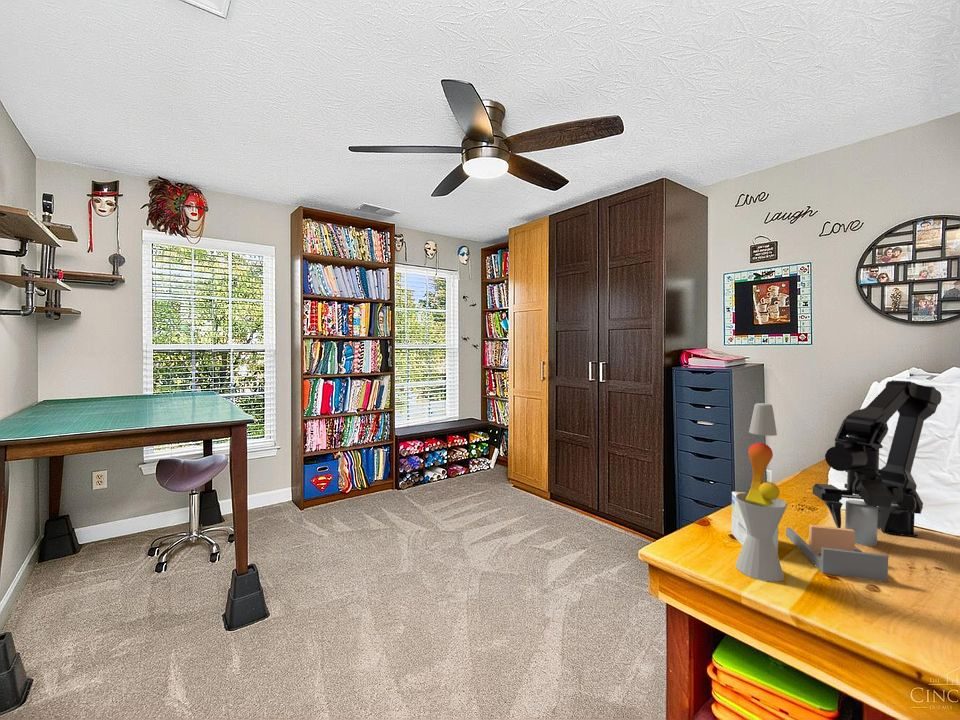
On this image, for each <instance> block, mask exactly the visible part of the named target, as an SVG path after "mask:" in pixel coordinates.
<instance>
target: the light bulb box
mask: <svg viewBox="0 0 960 720" xmlns="http://www.w3.org/2000/svg"><path fill="white" fill-rule="evenodd" d="M740 493H742V492H741V491H740V492H739V491H731V524H730V525H731V529H730V530H731V531H730V533H731V535H732V536H733V537H734V538H735V539H736V540H737V542H739V544H740V545H741V546H742V547H743V544H744V542H745V539H746V537H747V535H748V531H747V528H746V525H745V522H744V519H743V516H742V513H741V510H740V507H739V504H738V501H737V498H736V495H737V494H740ZM772 539H773V542H774V545H775V548H776V552H777V555H778V554H779V526H778V527H777V529H776V531H775V533H774V535H773V537H772Z"/></svg>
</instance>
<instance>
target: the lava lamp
mask: <svg viewBox="0 0 960 720" xmlns="http://www.w3.org/2000/svg"><path fill="white" fill-rule="evenodd" d="M773 408H774V407H773V404H770V403H762V402H760V403H759V402H758V403H755V404H754V405H753V411H752V417H751V422H750V425H749V426H750V427H749V430H748V433H750V434H752V435H757V436H769V437H771V436H775V437H776V436H778V433H777V432H778V431H777V426H776V421H775V413H774V409H773ZM747 451H748V454H747V455H748V457H749V460H750V463H751V468H752V481H751V486H750V489H749V491H748V492H741V493H740V494H737V495H736V498H737V501H738V504H739V507H740V510H741V513H742V516H743V519H744V522H745V525H746V528H747V531H748V535H747V537H746V539H745V542H744V544H743V546H742V547H741V550H740V552H739V555H738V557H737V559H736V563H735V565H736V567H735V569H736V568H737V569H738V570H739V571H738V570H737V569H736V570H737V571H738V572H740V573H741V572H742V573H741V574H743V575H744V574H745V576H747V577H749V578H752V579H755V580H758V579H759V580H758V581H764V582H769V583H770V582H771V583H775V582H781V581H783V580H784V579H785V575H784V571H783V569H782V565H781V562H780V558H779V555H778V554H777V552H776V548H775V545H774V542H773V539H772V537H773V535H774V533H775V531H776V529H777V527H778V528H779V525H780V522H781V520H782V517H783V515H784V514H785V511H786V509H787V507H788V503H787V502H786V501H785V500H783V499H781V498H779V496H780V493H781V492H780V488H779V487H778V486H777V484H776V483H773V482H771V481H764V476H765V472H766V469H767V468H768V465H769V464H770V463H771V460H773V456H774V454H773V449H772V448H771V447H770V446H769V445H768V444H766V443H763V442H755V443H753V444H751V445H750V446H749V448H748V450H747ZM735 565H734V566H735Z"/></svg>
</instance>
